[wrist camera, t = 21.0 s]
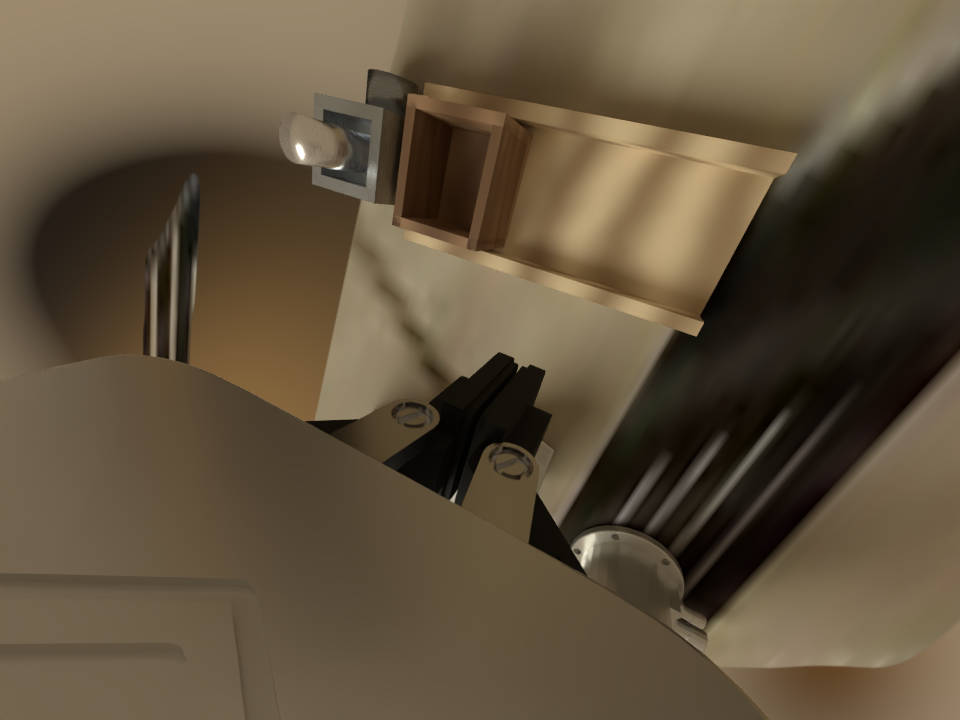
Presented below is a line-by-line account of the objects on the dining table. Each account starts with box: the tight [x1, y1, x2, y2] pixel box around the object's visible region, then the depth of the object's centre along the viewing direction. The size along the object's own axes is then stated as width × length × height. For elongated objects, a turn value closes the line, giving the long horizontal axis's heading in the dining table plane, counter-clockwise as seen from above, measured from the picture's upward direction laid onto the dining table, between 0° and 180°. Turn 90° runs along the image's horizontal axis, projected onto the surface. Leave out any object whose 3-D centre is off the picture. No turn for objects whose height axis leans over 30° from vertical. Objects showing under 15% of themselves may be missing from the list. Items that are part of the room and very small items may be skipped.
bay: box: [396, 82, 797, 336], centre depth 30 cm, size 28×13×5 cm, turn 75°
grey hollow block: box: [312, 69, 418, 205], centre depth 33 cm, size 7×10×8 cm
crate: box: [392, 93, 533, 252], centre depth 30 cm, size 8×9×7 cm
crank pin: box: [279, 113, 370, 174], centre depth 29 cm, size 3×3×8 cm
